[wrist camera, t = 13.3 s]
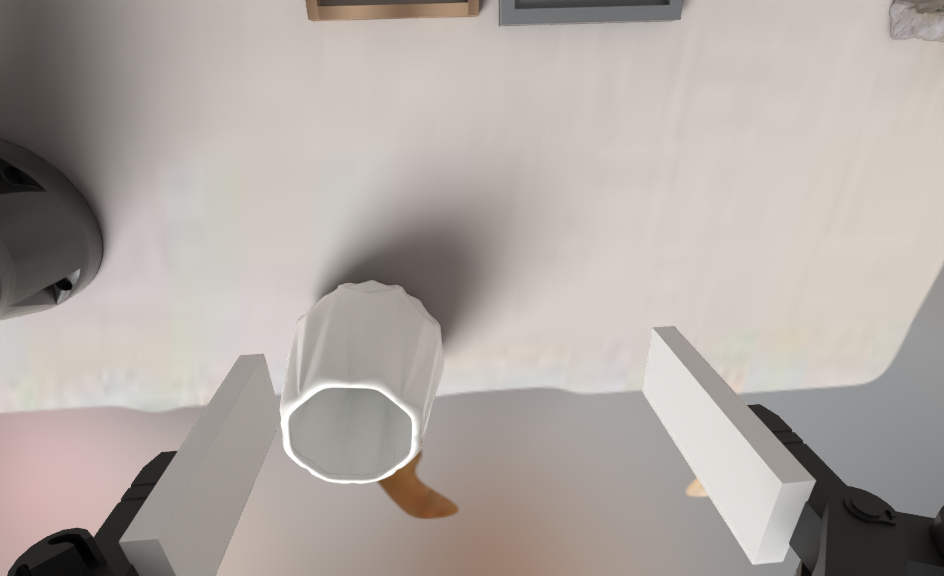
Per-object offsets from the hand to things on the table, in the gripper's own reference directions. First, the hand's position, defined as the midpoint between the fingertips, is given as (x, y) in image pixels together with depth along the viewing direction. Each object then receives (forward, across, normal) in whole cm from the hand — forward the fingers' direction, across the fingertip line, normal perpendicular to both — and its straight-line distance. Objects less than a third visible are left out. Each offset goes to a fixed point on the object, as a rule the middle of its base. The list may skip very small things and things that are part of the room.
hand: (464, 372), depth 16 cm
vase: (+29, -8, -15) cm, 34 cm away
